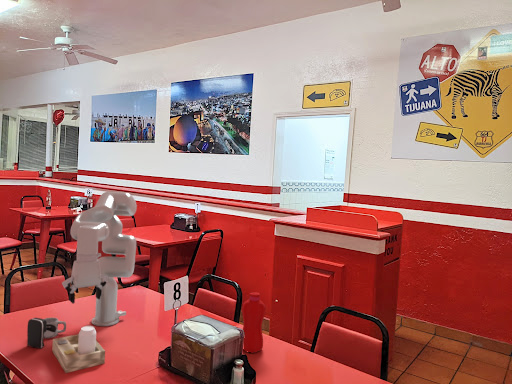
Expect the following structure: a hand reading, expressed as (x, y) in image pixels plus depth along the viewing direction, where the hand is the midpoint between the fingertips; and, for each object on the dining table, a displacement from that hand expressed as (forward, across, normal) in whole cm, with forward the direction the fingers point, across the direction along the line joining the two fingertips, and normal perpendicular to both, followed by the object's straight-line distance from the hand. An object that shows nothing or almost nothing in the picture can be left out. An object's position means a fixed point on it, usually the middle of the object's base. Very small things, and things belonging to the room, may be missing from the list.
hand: (85, 300), depth 159 cm
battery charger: (+23, +13, -18) cm, 32 cm away
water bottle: (+23, -62, +29) cm, 72 cm away
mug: (+24, +4, -26) cm, 35 cm away
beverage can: (+22, 0, +4) cm, 22 cm away
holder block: (+23, +2, 0) cm, 23 cm away
